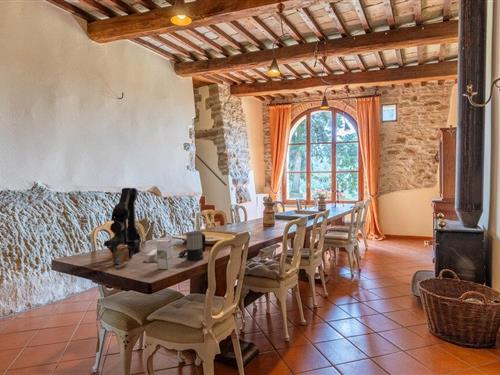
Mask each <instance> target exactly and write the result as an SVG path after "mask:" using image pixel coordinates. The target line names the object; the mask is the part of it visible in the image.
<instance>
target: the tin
mask: <svg viewBox="0 0 500 375" xmlns="http://www.w3.org/2000/svg"><path fill="white" fill-rule="evenodd" d="M127 247H129V246H127V245H123V246H122V247H120V248H117V249H116V250H114V251H113V253H112V252H111V260H112V264H114V265H117V264H118V265H119V266H120V264H121V265H123V264H125V262H126V263H128V262H130V261H131V260H132V258H133V256H134V254H133V255H132V257H131V259H129V250H128V248H127Z"/></svg>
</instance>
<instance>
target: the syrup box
mask: <svg viewBox="0 0 500 375" xmlns="http://www.w3.org/2000/svg"><path fill="white" fill-rule="evenodd" d="M155 242H156V248H157V270H170V269H171V268H173V254H172V247H173V246H172V245H173V244H172V239H171V238H160V239H157V240H156V241H155Z"/></svg>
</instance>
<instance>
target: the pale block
mask: <svg viewBox="0 0 500 375" xmlns="http://www.w3.org/2000/svg"><path fill="white" fill-rule="evenodd" d="M174 251H175V250H174V247H173V246H172V255H174V254H175V253H174ZM144 262H148V263H149V262H151V263H152V262H153V263H154V262H157V247H156V248H154V249H153V250H151V251H150V252H148V253H146V254H145V255H144Z"/></svg>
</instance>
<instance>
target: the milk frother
mask: <svg viewBox="0 0 500 375" xmlns="http://www.w3.org/2000/svg"><path fill="white" fill-rule="evenodd" d="M185 235H186V238H185V239H186V249H184V250H181V251H180V252H179V253H178V257H180V258H186V260H187V261H188V262H189V261H190V262H195V261H196V262H197V261H202V260H203V259H204V253H205V252H206V235H205V233H203V231H197V230H196V231H189V232H185Z"/></svg>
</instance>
